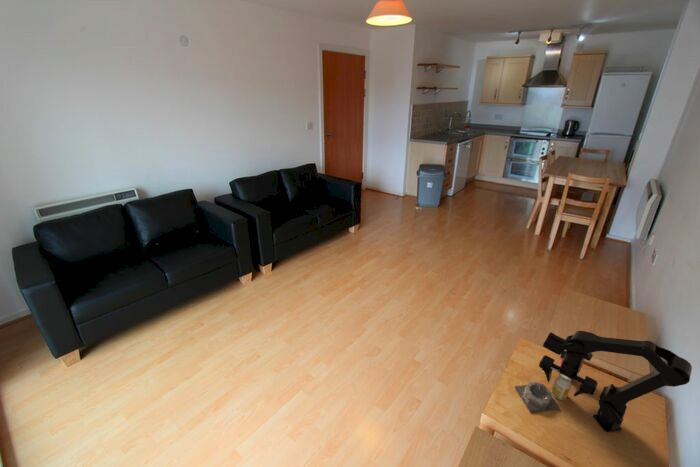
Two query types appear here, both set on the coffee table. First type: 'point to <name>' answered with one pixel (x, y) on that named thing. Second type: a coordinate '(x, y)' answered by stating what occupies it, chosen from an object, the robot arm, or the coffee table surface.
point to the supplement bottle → (561, 387)
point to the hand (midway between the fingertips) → (561, 388)
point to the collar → (537, 397)
